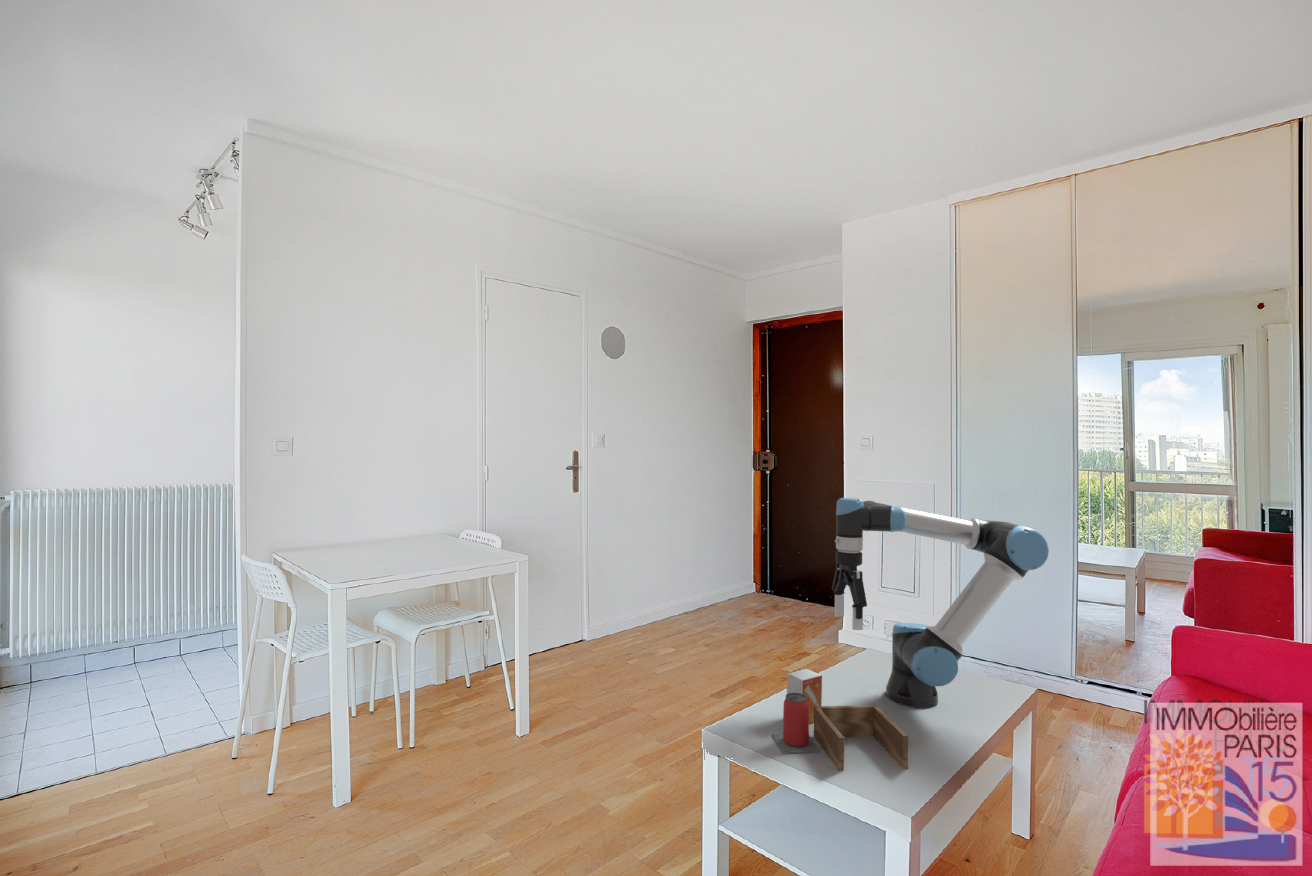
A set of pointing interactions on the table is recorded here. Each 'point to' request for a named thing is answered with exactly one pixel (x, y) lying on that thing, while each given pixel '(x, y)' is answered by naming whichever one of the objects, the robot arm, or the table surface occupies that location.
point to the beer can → (796, 720)
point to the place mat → (788, 749)
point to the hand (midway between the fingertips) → (848, 622)
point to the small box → (806, 688)
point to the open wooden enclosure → (858, 731)
